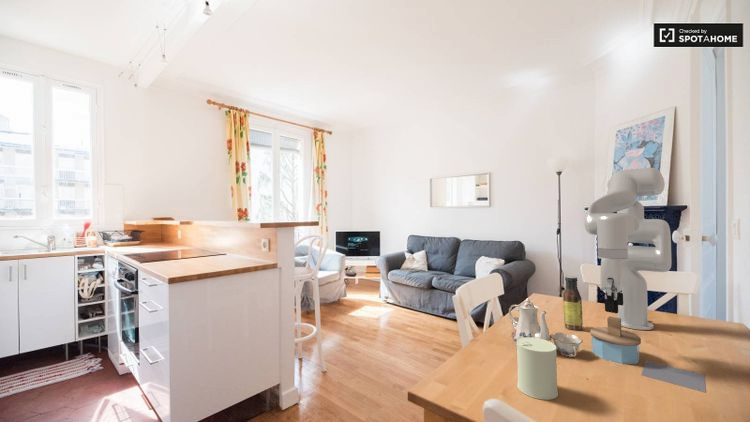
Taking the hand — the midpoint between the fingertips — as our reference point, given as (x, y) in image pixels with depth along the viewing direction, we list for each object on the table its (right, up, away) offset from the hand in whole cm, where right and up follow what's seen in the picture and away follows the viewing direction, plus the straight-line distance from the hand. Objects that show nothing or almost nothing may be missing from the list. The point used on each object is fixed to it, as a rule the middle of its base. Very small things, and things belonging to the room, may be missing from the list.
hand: (614, 308), depth 97 cm
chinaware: (-20, -16, +9) cm, 27 cm away
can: (-34, -15, -18) cm, 41 cm away
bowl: (0, -15, -1) cm, 15 cm away
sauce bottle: (+3, -16, +25) cm, 29 cm away
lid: (0, -9, -1) cm, 9 cm away
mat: (+6, -15, -13) cm, 20 cm away
